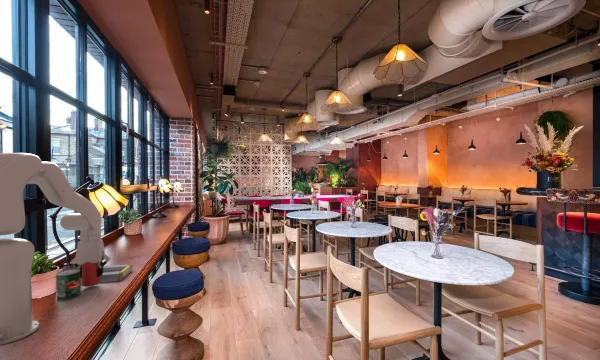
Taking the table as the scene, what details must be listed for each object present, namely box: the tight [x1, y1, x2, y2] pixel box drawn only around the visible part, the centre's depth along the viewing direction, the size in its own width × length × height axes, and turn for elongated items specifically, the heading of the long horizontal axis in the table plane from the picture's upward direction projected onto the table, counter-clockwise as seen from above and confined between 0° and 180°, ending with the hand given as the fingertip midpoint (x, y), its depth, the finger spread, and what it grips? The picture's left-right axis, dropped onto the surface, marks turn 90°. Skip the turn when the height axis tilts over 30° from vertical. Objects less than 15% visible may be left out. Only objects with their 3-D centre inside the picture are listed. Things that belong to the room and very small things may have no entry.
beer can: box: [81, 262, 101, 288], centre depth 124 cm, size 7×7×12 cm
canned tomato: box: [55, 268, 82, 302], centre depth 114 cm, size 8×8×11 cm
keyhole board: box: [80, 263, 133, 285], centre depth 137 cm, size 15×20×4 cm
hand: (91, 276), depth 124 cm, fingers closed on beer can, 6 cm apart
